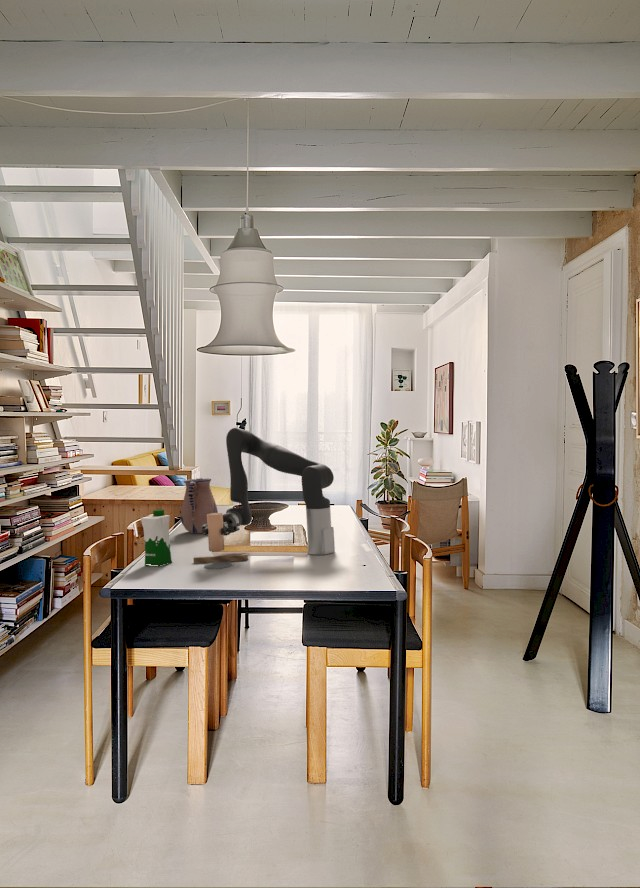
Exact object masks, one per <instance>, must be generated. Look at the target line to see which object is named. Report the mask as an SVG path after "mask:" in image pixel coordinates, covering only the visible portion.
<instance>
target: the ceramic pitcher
mask: <svg viewBox="0 0 640 888" xmlns="http://www.w3.org/2000/svg"><path fill="white" fill-rule="evenodd" d="M211 481H212V478H202V477H200V478H188V479H184V480H183V483H184V484H185V493H184V497H183V500H182V505H181V510H180V522H181V525H182V526H183V527H184V529H185V530H186V531H187V532H189V533H191V534H198V535H199V534H203V533H202V526H203V525H204V524H207V514H210V513H219V512H218V507H217V504H216V499H215V498H214V495H213V493H212V489H211V486H210V485H211Z"/></svg>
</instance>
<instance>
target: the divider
mask: <svg viewBox="0 0 640 888" xmlns="http://www.w3.org/2000/svg"><path fill="white" fill-rule="evenodd" d="M192 559H193V564H204V563H207V564H209V563H214V562H238V561H239V562H240V561H241V562H242V561H248V560H249V555H248V553H243V554H241V553H240V554H226V555H225V554H223V555H211V556H210V555H207V556H193V558H192Z"/></svg>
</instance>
